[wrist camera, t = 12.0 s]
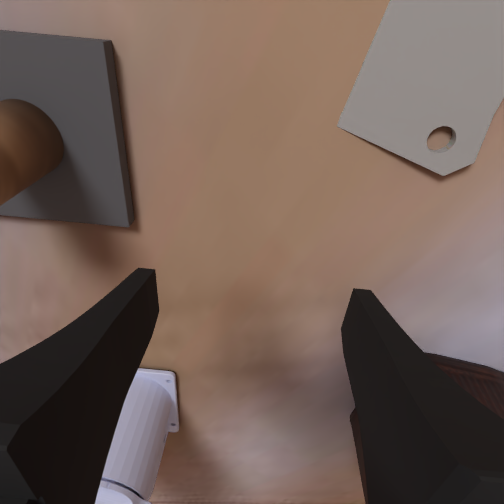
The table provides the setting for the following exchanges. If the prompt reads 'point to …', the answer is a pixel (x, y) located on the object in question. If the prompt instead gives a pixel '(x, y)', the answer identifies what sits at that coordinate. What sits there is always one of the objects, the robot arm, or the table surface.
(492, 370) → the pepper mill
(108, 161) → the mat
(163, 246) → the table surface
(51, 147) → the peg
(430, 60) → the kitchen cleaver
